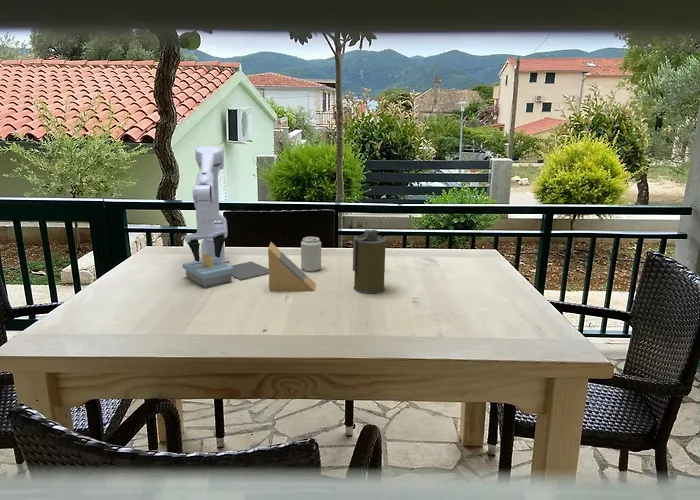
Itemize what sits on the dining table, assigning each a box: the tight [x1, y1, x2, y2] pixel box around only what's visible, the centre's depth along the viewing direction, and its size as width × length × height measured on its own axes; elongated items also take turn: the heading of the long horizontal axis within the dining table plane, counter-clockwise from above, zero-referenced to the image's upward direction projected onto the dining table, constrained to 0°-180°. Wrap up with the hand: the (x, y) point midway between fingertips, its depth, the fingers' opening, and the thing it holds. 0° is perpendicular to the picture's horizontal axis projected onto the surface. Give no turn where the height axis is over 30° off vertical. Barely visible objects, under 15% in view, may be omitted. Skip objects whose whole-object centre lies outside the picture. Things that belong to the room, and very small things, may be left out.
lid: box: [182, 254, 234, 279], centre depth 179 cm, size 15×11×5 cm
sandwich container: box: [267, 241, 317, 292], centre depth 173 cm, size 9×15×15 cm, turn 93°
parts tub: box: [185, 270, 233, 289], centre depth 180 cm, size 14×10×4 cm
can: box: [300, 236, 322, 273], centre depth 192 cm, size 8×8×12 cm
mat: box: [230, 261, 269, 281], centre depth 190 cm, size 16×14×1 cm
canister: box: [352, 229, 387, 295], centre depth 172 cm, size 11×10×20 cm
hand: (207, 258), depth 179 cm, fingers open, 7 cm apart
